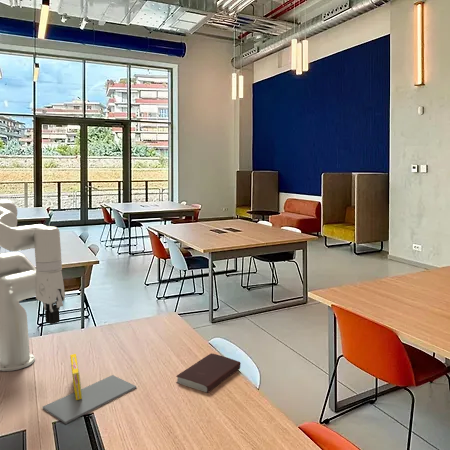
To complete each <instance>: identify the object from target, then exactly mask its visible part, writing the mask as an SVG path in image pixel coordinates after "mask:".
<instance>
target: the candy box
mask: <svg viewBox="0 0 450 450" xmlns="http://www.w3.org/2000/svg"><path fill="white" fill-rule="evenodd" d="M69 357H70V367H71V376H72V377H71V378H72V384H73V390H74V392H75V397H76V400H79V399H82V391H81V389H82V383H81V378H80V370H79V364H78V363H79V362H78V358H77V353H72V354H70V355H69Z"/></svg>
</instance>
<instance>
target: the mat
mask: <svg viewBox="0 0 450 450" xmlns="http://www.w3.org/2000/svg"><path fill="white" fill-rule="evenodd" d="M136 389H137V385H135V384H132V383H130V382H128V381H126V380H124V379H122V378H121V377H117V376H115V375H114V374H112V375H110V376H107V377H105V378H103V379H101V380H99V381H96V382H94V383H92V384H90V385H87V386H86V387H82V388H81V391H82V399H79V400H76V397H75V391H74V392H72V393H70V394H67V395H65V396H63V397H61V398H59V399H58V398H57V400H54V401H52V402H49V403H47V404H45V405H43V406H42V410H43V411H45V412H46V413H48V414H50V415H51V416H53V417H55V418H56V419H58V420H59V421H61V423H64V424H69V423H70V422H72V421H75V420H76V419H77V418H80V417H82V416H84V415H86V414H88V413H90V412H93V411H94V410H96V409H97V408H100V407H101V406H103V405H106V404H108V403H111V401H113V400H116V399H117V398H119V397H122V396H123V395H125V394H128V393H129V392H131V391H133V390H136Z"/></svg>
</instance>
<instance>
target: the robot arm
mask: <svg viewBox="0 0 450 450" xmlns="http://www.w3.org/2000/svg"><path fill="white" fill-rule="evenodd" d="M17 216H18V208H17V206H16V204H15V203H14V202H12V201H11V200H9V199H0V247H1V248H3V249H4V250H7V251H10V252H3V253H0V371H2V372H12V371H14V372H15V371H18V370H22V369H24V368H26V367H29V366H31V365H32V364H34V363H35V361H36V356H35V355H34V354H33V353H31V352H30V341H29V340H30V338H29V327H28V315H27V311H26V309H25V308H24V306H22V305H21V303H20V302H22V301H23V300H26V299H27V300H28V299H30V298H33V297H35V299H36V300H37V301H38V302H39V301H40V302H42V304H43V310H44V313H45V314H44V317H45V323H47V324H49V325H55V324H57V323H60V322H61V321H60V320H61V319H60V310H61V308H62V307H64V303H63V302H64V301H65V298H66V297H65V295H66V294H65V293H66V292H65V283H64V278H63V271H62V270H63V265H62V249H61V248H62V246H61V234H60V230H59V228H58V227H57V226H50V225H49V226H48V225H45V224H42V223H38V224H29V225H19V226H17V225H18V218H17ZM30 249H31V250H32V249H34V258H35V266H34V264H33V263H32V262H31V260H29V259H28V257H27V256H26V255H24V253H21V252H20V251H25V250H30Z"/></svg>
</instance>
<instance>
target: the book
mask: <svg viewBox="0 0 450 450" xmlns="http://www.w3.org/2000/svg"><path fill="white" fill-rule="evenodd" d="M240 369H241V362H240V361H239V360H236V359H233V358H230V357H226V356H223V355H220V354H216V353H212V352H211V353H209V354H207V355H206V356H204V357H202V359H200V360H199V361H197V362H196V363H193V364H192V365H191V366H190V367H188V368H186V369H184V370H182V371H181V372H180V373H179V374H177V375H176V376H175V377H177V381H176V382H175V383H176V384H180V385H183V386H185V387H189V388H192V389H195V390H198V391H202V392H204V393H206V394H208V393H210V392H211V391H212V390H213V389H215V388H216V387H217V386H219V385H220V384H221V383H223V382H224V381H225V380H227V379H228V378H229V377H231V376H232V375H233V374H235V373H236V372H238V371H239V370H240Z"/></svg>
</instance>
